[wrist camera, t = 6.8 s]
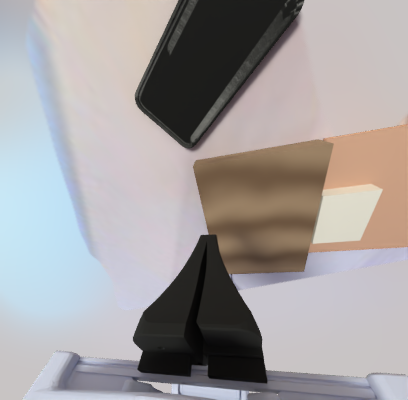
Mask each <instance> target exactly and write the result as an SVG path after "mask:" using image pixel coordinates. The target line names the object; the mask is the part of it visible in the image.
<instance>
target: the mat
mask: <svg viewBox="0 0 408 400" xmlns="http://www.w3.org/2000/svg"><path fill="white" fill-rule="evenodd" d="M323 141H326V142H330V143H333V144H334V145H333V149H332V154H331V158H330V162H329V166H328V171H327V175H326V179H325V183H324V188H323V190H326V189H334V188H342V187H350V186H358V185H366V184H372V185H375V186H377V187H379V188H381V189H383V191H382V193H381V195H380V197H379V199H378V202H377V204H376V206H375V208H374V211H373V213H372V215H371V217H370V220H369V222H368V224H367V226H366V228H365V231H364V233H363V235H362V237H361V240H360V241H346V242H331V243H317V244H312V243H310V247H309V252H308V253H310V252H328V251H346V250H364V249H382V248H400V247H408V124H406V125H400V126H395V127H389V128H383V129H377V130H371V131H365V132H360V133H354V134H348V135H342V136H336V137H330V138H325V139H323Z"/></svg>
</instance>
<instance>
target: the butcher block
mask: <svg viewBox="0 0 408 400" xmlns="http://www.w3.org/2000/svg"><path fill="white" fill-rule="evenodd" d="M333 145H334V144H333V143H330V142H326V141H322V140H313V141H307V142H301V143H295V144H289V145H284V146H278V147H272V148H266V149H260V150H254V151H249V152H243V153H237V154H231V155H225V156H219V157H214V158H208V159H202V160H196V161H195V164H194V166H193V169H194V173H195V177H196V182H197V186H198V190H199V194H200V199H201V203H202V207H203V211H204V216H205V220H206V224H207V229H208V233H209V235H212V234H216V235H217V240H218V245H219V251H220V254H221V257H222V260H223V262H224V265H225V267H226V269H227V272H228V274H247V273H274V272H302V271H304V269H305V264H306V260H307V256H308V252H309V247H310V243H311V239H312V235H313V230H314V226H315V222H316V218H317V213H318V209H319V205H320V200H321V196H322V192H323V188H324V183H325V179H326V175H327V171H328V166H329V162H330V158H331V154H332V149H333Z"/></svg>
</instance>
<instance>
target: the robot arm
mask: <svg viewBox="0 0 408 400" xmlns="http://www.w3.org/2000/svg"><path fill="white" fill-rule="evenodd" d="M133 341H134V343H135V344H136V345H137V346H138V347H139V348H140V349H141V350H143V352H142V356H141V359H140V361H131V360H118V359H103V358H91V357H80V356H79V355H78V354H76V353H73V352H66V351H56V352H54V354H53V355H52V357H51V358H50V360H49V361H48V363H47V364H46V366H45V367H44V369H43V370H42V372H41V373H40V375H39V376H38V377H37V379H36V380H35V382H34V383H33V385H32V386H31V388H30V389H29V391H28V392H27V393H26V395H25V396H24V398H23V399H22V400H408V376H406V375H405V374H390V373H371V374H369V375H367V377H366V378H362V377H349V376H335V375H321V374H308V373H295V372H294V373H293V372H281V371H280V372H279V371H267V370H266V369H265V364H264V356H263V351H262V336H261V333H260V330H259V328H258V326H257V324H256V322H255V319H254V317H253V315H252V313H251V311H250V310H249V308H248V307H247V305H246V304H245V302H244V301H243V299H242V297H241V296H240V294H239V292H238V291H237V289H236V287H235V285H234V283H233V282H232V280H231V274H228V272H227V269H226V267H225V265H224V262H223V260H222V257H221V254H220V251H219V245H218V240H217V235H216V234H212V235H201V236H200V238H199V241H198V243H197V245H196V247H195V249H194V251H193V253H192V254H191V256H190V258H189V259H188V261H187V263H186V264H185V266H184V267H183V269H182V270H181V272H180V273H179V274H178V276H177V277H176V278H175V280H174V281H173V282H172V283H171V284H170V286H169V287H168V288H167V289H166V290H165V291H164V292H163V293H162V294H161V295H160V297H159V298H158V299H157V300H156V301H155V302H153V303H152V304H151V305H150V306H149V307H148V308H147V309H146V310H145V311H144V312H143V315H142V317H141V318H140V321H139V323H138V326H137V328H136V331H135V334H134V337H133ZM137 380H139V381H149V382H160V383H170V384H172V393H171V394H170V393H163V392H162V391H159V390H157V389H155V388H154V387H152V385H151V384H147V383H143V382H138V381H137ZM249 391H252V392H263V393H249ZM277 394H278V395H277Z"/></svg>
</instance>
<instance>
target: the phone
mask: <svg viewBox="0 0 408 400" xmlns="http://www.w3.org/2000/svg"><path fill="white" fill-rule="evenodd" d="M303 3H304V0H179V1H178V3H177V5H176V7H175V9H174V11H173V13H172V16H171V18H170V20H169V22H168V24H167V26H166V28H165V31H164V33H163V35H162V37H161V39H160V41H159V43H158V45H157V48H156V50H155V52H154V54H153V56H152V58H151V60H150V63H149V65H148V67H147V69H146V71H145V73H144V75H143V77H142V80H141V82H140V84H139V86H138V88H137V90H136V93H135V101H136V104H137V106H138V107H139V109H140V110H141V111H142V112H144V113H145V114H146V115H147V116H148V117H149V118H150V119H152V120H153V121H154V122H155V123H156V124H157V125H159V126H160V127H161V128H162V129H163V130H164V131H165V132H167V133H168V134H169V135H170V136H171V137H172V138H174V139H175V140H176V141H177V142H178V143H179V144H180V145H182V146H183V147H185V148H192V147H194V146H195V145H196V144H197V142H198V141H199V140H200V139H201V137H202V136H203V135H204V134H205V132H206V131H207V130H208V128H209V127H210V126H211V125H212V123H213V122H214V121H215V120H216V118H217V117H218V116H219V114H220V113H221V112H222V111H223V109H224V108H225V107H226V106H227V104H228V103H229V102H230V100H231V99H232V98H233V97H234V95H235V94H236V93H237V92H238V90H239V89H240V88H241V87H242V85H243V84H244V83H245V81H246V80H247V79H248V78H249V76H250V75H251V74H252V73H253V71H254V70H255V69H256V67H257V66H258V65H259V64H260V62H261V61H262V60H263V59H264V57H265V56H266V55H267V53H268V52H269V51H270V50H271V48H272V47H273V46H274V45H275V43H276V42H277V41H278V40H279V38H280V37H281V36H282V34H283V33H284V32H285V31H286V29H287V28H288V27H289V26H290V24H291V23H292V22H293V20H294V19H295V18H296V17H297V15H298V14H299V12H300V10H301V8H302V6H303Z"/></svg>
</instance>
